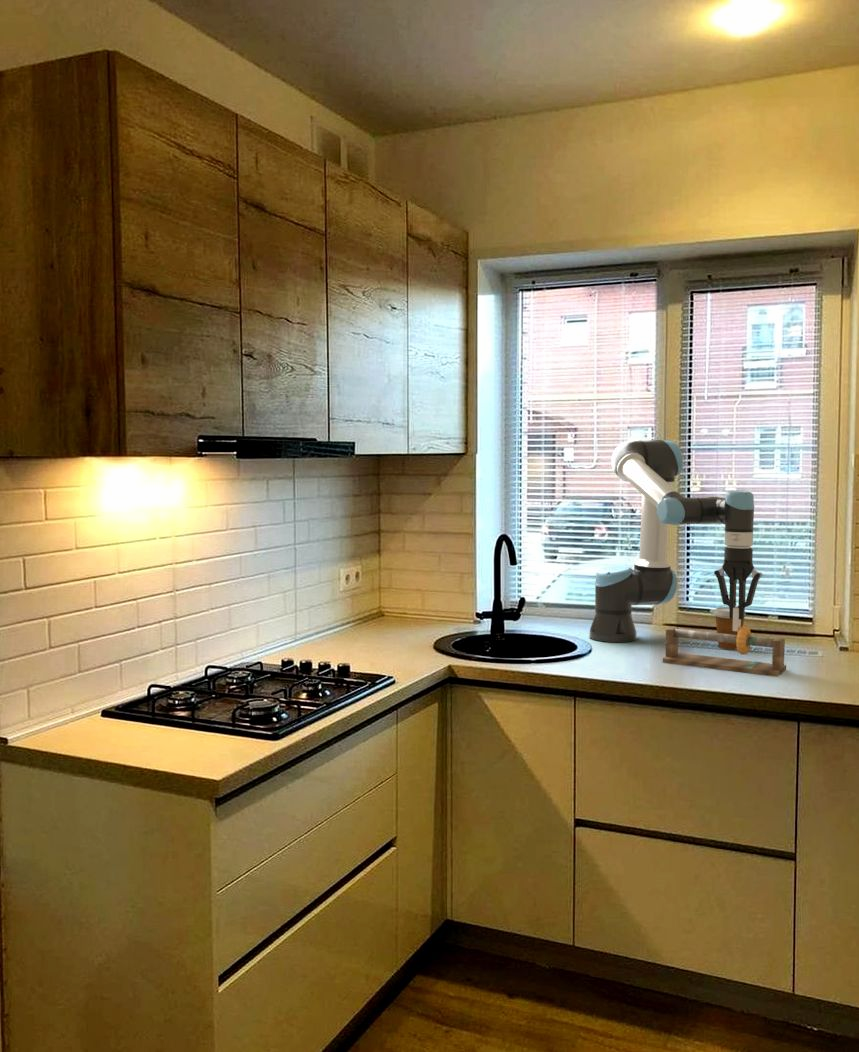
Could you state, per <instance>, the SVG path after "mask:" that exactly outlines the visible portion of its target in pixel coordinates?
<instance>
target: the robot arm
mask: <svg viewBox="0 0 859 1052" xmlns="http://www.w3.org/2000/svg"><path fill="white" fill-rule="evenodd" d="M610 464H611V468H612V470H613V473H615V474H616V476H617V477H618V478H619V479H621V480H622V481H624V482H629V483H630V484H631V485H632V486H633V487H634V488H635V489H636V490H638V492H640V494H641V514H640V535H639V536H640V538H639V539H640V540H639V557H638V559H637V560H636V561H635V562H634V568H632V566H629V565H611V566H607V567H603V568H599V570H598V571H597V572H596V574H595V581H594V582H595V583H594V587H595V595H594V596H595V598H594V601H595V603H594V604H595V605H594V606H595V610H594V616H593V620H592V623H591V625H590V629H589V639H591V638H592V639H591V640H594V641H598V642H604V643H605V642H606V643H607V642H608V643H627V642H628V643H629V642H634V641H636V640H637V630H636V626H635V623H634V620H633V616H632V608H633V606H646V605H654V606H658V605H661V604H662V605H663V604H667V603H669V602H671V601H672V600H673V599H674V597H675V595H676V593H677V590H678V577H677V574H676V572H675V571H674V570H673V569H671V567H672V565H671V563H670V562H669V561H668V560H667V549H668V548H667V547H668V546H667V544H668V530H669V529H668V528H669V527H668V525H672V526H677V525H705V524H706V525H708V524H709V525H710V524H721V525H724V545H725V546H726V547H725V548H723V549H724V551H723V552H724V553H723V556H724V558H723V559H724V561H723V564H722V565H721V567H720V568H719V569H716V570H714V572H713V573H714V576H715V577H716V578H717V583H718V587H719V592H720V596H721V601H722V604H723V605H724V606H725V605H726V606H727V607H729V608H730V612H729V617H730V618H732V619H733V631H738V630H739V629H740V627H741V619H744V620H745V618H746V615H745V614H746V611H745V609H746V608H747V607H750V606H752V604H753V602H754V601H753V600H754V598H755V593H756V590H757V587H758V583H759V580H760V579H761V578H762V576H763V573H762V572H759V571H757V570H756V569H755V565H754V564H753V559H754V558H753V555H754V554H753V553H754V552H753V551H754V549H753V548H752V547H753V545H754V514H755V502H754V501H755V500H754V499H755V498H754V493H752V492H750V491H728V492H726V494H725V497H719V496H707V497H685V496H684V495H683V494H681V493H680V492H679V491H678V490H676V488H675V487H673V486H672V485H673V484H674V483H675V481H676V480H675V478H676V477H677V476H679V475H680V474H681V473H682V470H683V467H684V456H683V453H682V450H681V448H680V446H679V445H678V444H677V443H676V442H675V441H673V440H666V439H630V440H626V441H623V442H622V443H620V444H619V445H618V446H617V447H616V448H615V449H614V451H613V453H612V456H611V463H610ZM725 575H726V576H727V577H728V579H729V581H728V582H729V592H728V588H727V584H726V578H725ZM750 576H751V577H752V579H751V582H750V585H749V589H748V593H747V595H746V591H747V590H746V589H747V579H748V578H749V577H750ZM737 583H738V606H737Z"/></svg>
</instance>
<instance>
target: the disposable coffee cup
mask: <svg viewBox="0 0 859 1052" xmlns="http://www.w3.org/2000/svg"><path fill="white" fill-rule="evenodd" d="M729 612H730V608H729V606H726V607H723V606H721V607H716V608H715V610H714V612H713V615H714V617H715V623H716V624H715V625H716V633H721V634H731V635H737V633H738V631H733V619H732V618H730V617H729ZM745 616H747V614H746V613H745ZM744 622H745V618H744V619H741V627H742V626H744ZM717 644H718V648H720V649H722V648H723V650H737V646H736V644H735V643H726V642H717Z"/></svg>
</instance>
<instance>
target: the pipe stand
mask: <svg viewBox="0 0 859 1052" xmlns="http://www.w3.org/2000/svg"><path fill="white" fill-rule="evenodd" d="M679 638H681V639H691V640H700V641H709V642H717V643H718V642H726V643H735V644H737V643H736V640H737V635H731V634H721V633H717V632H711V631H710V632H709V631H701V630H699V631H698V630H691V629H680V628H679V627H677V626H670V627H668V628H666V629H665V656H664V657H662V659H661V660H662V663H667V664H675V665H683V666H691V667H698V668H704V669H705V668H706V669H714V670H715V669H716V670H723V671H731V672H739V673H746V674H754V675H760V676H761V675H762V676H771V677H779V676H780V675H781V674H782V673H784V672H785V671H786V670H787V665H786V664H785V644H786V639H785V638H783V637H776V638H768V637H767V638H766V637H758V636H752V635H751V636H747V637H746V645H750V647H751V646H754V647H763V648H771V649H772V662H771V663H768V662H761V661H755V660H746V659H745V660H744V659H735V658H725V657H717V656H710V655H701V654H693V653H685V652H684V653H683V652H679Z"/></svg>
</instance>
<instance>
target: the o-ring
mask: <svg viewBox="0 0 859 1052" xmlns="http://www.w3.org/2000/svg"><path fill="white" fill-rule="evenodd" d="M747 636H752V632H751V628H750V627H748V626H745V625H743V626H742V627H740V629H739V630H738V633H737V640H736V643H737V644H736V646H737V649H736V650H737V652H738V653H739V654H740V655H747V654H748V653H749V652H750V648H751V645H746V637H747Z"/></svg>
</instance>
